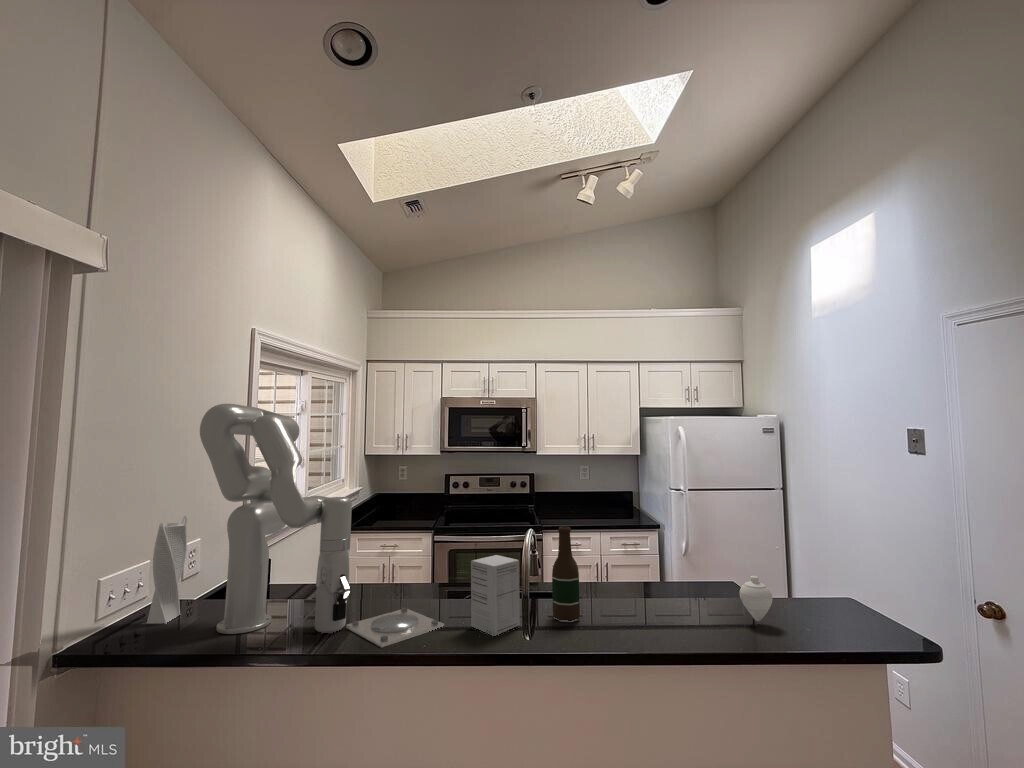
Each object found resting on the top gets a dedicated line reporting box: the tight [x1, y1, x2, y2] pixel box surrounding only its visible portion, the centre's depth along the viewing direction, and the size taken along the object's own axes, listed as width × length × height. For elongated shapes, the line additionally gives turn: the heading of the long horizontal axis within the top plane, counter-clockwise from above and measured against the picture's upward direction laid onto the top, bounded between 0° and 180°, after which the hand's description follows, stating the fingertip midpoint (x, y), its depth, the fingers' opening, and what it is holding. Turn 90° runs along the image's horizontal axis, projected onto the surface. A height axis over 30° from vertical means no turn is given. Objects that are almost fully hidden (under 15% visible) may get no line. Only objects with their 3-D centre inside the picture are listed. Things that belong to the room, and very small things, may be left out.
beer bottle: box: [551, 525, 581, 621], centre depth 128 cm, size 8×8×24 cm
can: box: [314, 582, 348, 634], centre depth 121 cm, size 8×8×12 cm
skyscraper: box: [141, 515, 188, 625], centre depth 130 cm, size 8×8×28 cm
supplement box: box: [470, 554, 521, 637], centre depth 122 cm, size 10×9×17 cm
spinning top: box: [739, 575, 774, 622], centre depth 121 cm, size 8×8×12 cm
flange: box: [345, 607, 445, 648], centre depth 121 cm, size 18×18×2 cm
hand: (332, 615), depth 121 cm, fingers closed on can, 7 cm apart
